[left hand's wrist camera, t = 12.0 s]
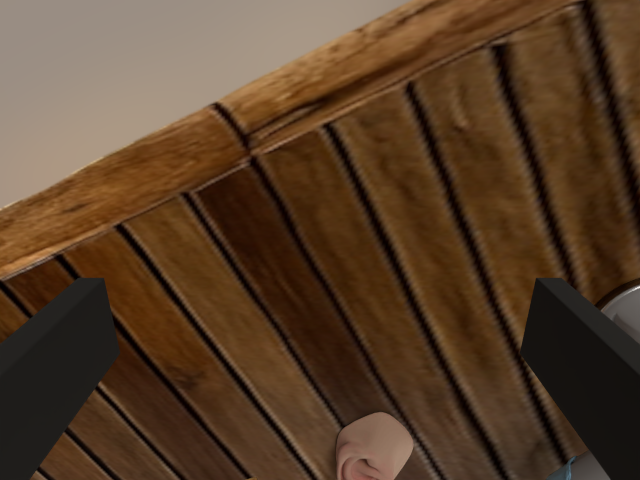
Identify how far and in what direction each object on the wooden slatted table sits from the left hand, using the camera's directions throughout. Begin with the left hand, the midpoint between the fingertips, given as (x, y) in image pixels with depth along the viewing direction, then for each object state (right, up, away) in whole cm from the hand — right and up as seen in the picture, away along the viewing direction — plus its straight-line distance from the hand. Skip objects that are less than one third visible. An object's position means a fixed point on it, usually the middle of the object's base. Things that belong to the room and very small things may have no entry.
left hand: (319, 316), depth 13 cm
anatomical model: (+7, -27, +45) cm, 53 cm away
